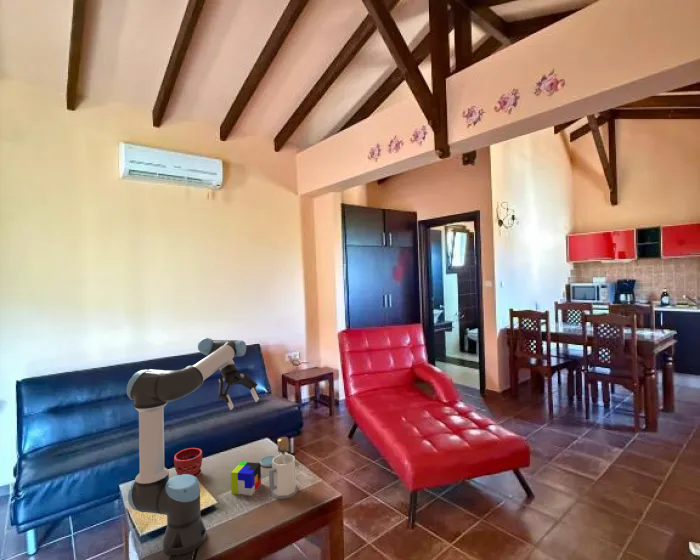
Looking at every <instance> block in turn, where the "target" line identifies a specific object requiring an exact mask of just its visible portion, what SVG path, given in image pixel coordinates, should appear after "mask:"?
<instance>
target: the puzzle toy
mask: <svg viewBox="0 0 700 560" xmlns="http://www.w3.org/2000/svg"><path fill="white" fill-rule="evenodd" d="M261 467H262V466H261V465H260V462H259V463H256V462H251V461H250V462H249V461H241V462H240V463H238V465H237V466H235V468H234V469H233V470H232V471H231V472H230V482H231V483H230V487H231V488H230V489H231V494H232V493H233V494H232V495H239V494H244V495H243V496H250V495H252V494H253V495H254V493H255V492H256V491H257V490H258V488H259V487H260V486H261V484H262V471H261V469H262V468H261ZM256 489H257V490H256ZM253 495H252V496H253Z"/></svg>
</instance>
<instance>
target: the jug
mask: <svg viewBox="0 0 700 560" xmlns="http://www.w3.org/2000/svg"><path fill="white" fill-rule="evenodd" d="M275 456H276V457H274V458H273V461H272V467H270V468H269V469H268V479H269V481H268V482H269V483H268V484H269V490H270V493H271V496H272V497H273V498H274V497H275V498H274V499H277V500H286V499H291V498H293V497H294V496H296V494H297V493H298V489H299V487H298V485H297V481H296V480H297V479H296V478H297V477H296V457H295V456H294V455H292V454H291V453H285V464H282V454H281V455H279V454H278V455H275Z"/></svg>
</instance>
